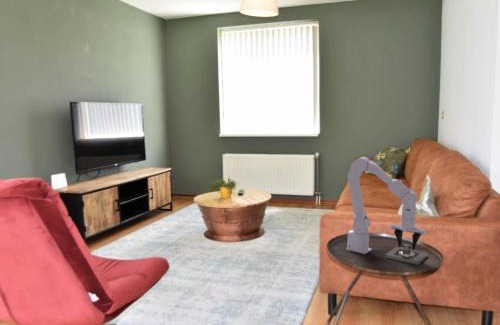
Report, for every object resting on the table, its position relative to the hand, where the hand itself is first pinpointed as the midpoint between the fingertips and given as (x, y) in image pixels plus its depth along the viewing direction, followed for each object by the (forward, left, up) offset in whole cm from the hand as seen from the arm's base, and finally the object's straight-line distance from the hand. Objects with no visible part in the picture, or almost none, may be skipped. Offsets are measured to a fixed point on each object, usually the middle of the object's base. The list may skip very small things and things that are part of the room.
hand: (406, 247), depth 184 cm
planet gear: (0, 0, -4) cm, 4 cm away
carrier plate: (0, 0, -4) cm, 4 cm away
